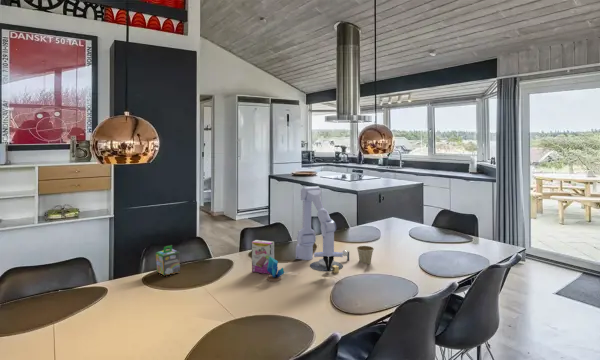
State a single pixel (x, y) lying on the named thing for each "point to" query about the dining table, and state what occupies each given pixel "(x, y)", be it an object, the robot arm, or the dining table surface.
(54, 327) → the dining table surface
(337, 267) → the turntable
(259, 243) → the candy bar box
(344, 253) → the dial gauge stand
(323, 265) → the cover
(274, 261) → the gemstone
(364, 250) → the flower pot
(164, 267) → the chalk box
